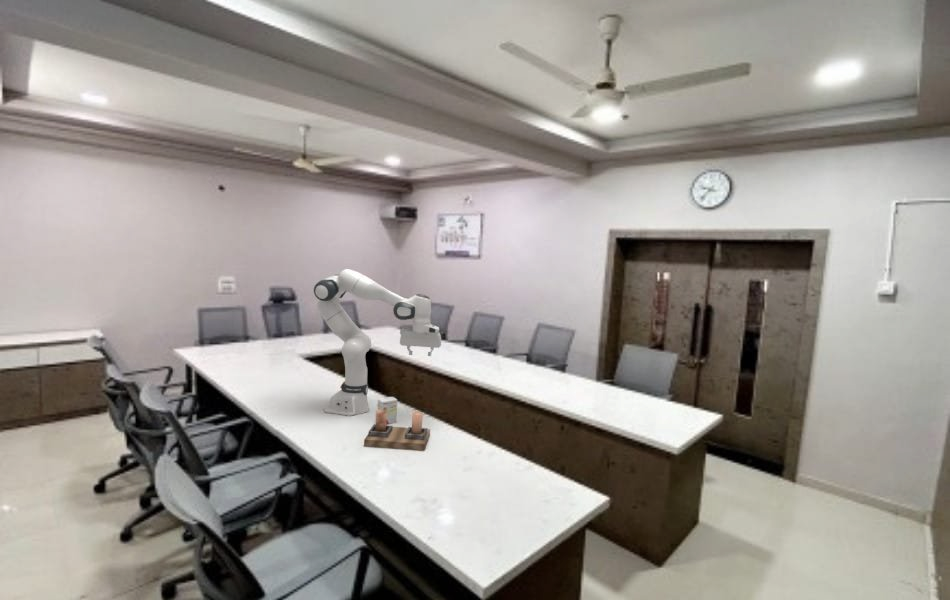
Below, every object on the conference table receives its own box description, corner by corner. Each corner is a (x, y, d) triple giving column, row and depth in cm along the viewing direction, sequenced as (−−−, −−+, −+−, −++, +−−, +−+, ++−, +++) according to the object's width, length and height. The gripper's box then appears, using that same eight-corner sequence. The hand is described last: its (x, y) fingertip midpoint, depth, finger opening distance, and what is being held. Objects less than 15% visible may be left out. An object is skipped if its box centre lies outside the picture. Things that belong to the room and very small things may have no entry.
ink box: (380, 425, 216) (381, 401, 215) (376, 422, 220) (377, 398, 219) (396, 422, 222) (397, 399, 220) (392, 419, 226) (393, 396, 224)
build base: (364, 446, 193) (364, 416, 192) (374, 431, 209) (375, 404, 208) (424, 450, 192) (425, 421, 191) (429, 435, 208) (431, 408, 207)
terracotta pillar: (410, 436, 198) (411, 415, 197) (412, 432, 203) (413, 411, 201) (420, 438, 198) (421, 416, 197) (422, 433, 202) (423, 412, 201)
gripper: (398, 327, 219) (397, 355, 220) (440, 329, 218) (439, 358, 219) (401, 325, 225) (400, 352, 226) (442, 327, 224) (441, 355, 226)
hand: (420, 355), depth 223 cm, fingers open, 8 cm apart
